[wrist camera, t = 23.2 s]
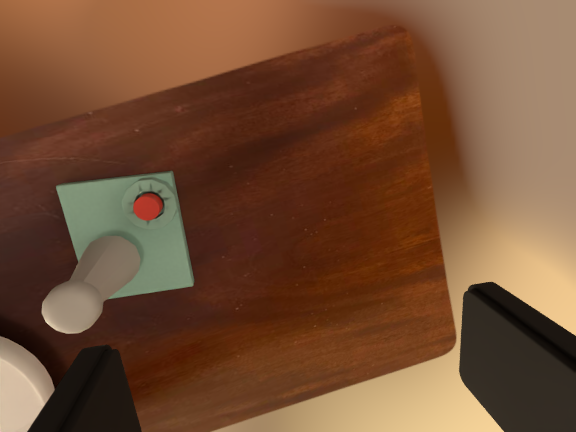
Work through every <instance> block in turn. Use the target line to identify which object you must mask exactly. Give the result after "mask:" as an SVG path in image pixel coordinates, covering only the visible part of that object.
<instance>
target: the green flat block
mask: <svg viewBox="0 0 576 432" xmlns="http://www.w3.org/2000/svg"><path fill="white" fill-rule="evenodd" d="M56 189H57V192H58V195H59V199H60V202H61V206H62V209H63V212H64V216H65V219H66V222H67V226H68V229H69V232H70V236H71V239H72V243H73V246H74V249H75V253H76V256H77V259H78V262H79V260H80V258H81V256H82V254H83V252H84V251H85V249H86V248H87V246H88V245H89V244H90V242H92V241H94V240H97V239H99V238H101V237H103V236H121V237H123V238H124V239H126V240H128V241H129V242H131V243H132V244H134V245H135V246H136V248H137V250H138V253H139V256H140V266H139V271H138V273H137V274H136V275H135V276H134V278H133V279H132V280H131V281H130V282H129V283H127V284H126V285H125V286H123V287H122V288H121V289H120V290H118V291H117V292H116V293H114V294H113V295H112V296H110V297H109V298H108V299H111V298H118V297H125V296H131V295H138V294H144V293H151V292H158V291H164V290H171V289H178V288H184V287H191V286H193V284H194V277H193V272H192V267H191V262H190V257H189V252H188V246H187V241H186V236H185V231H184V226H183V221H182V216H181V211H180V205H179V200H178V195H177V190H176V185H175V180H174V175H173V171H166V172H158V173H149V174H141V175H132V176H123V177H115V178H106V179H98V180H89V181H80V182H72V183H63V184H60V185H57V186H56ZM146 193H153V194H155V195H157V196H158V197H159V198H160V199H161V201H162V204H163V207H162V210H161V212H160V213H159V214H158V216H157V217H156V218H154V219H153V220H148V221H146V220H142V219H140V218H138V217H137V216H136V214H135V213H134V210H133V205H134V203H135V201H136V200H137V199H138V198H139V197H140V196H142V195H143V194H146Z"/></svg>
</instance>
